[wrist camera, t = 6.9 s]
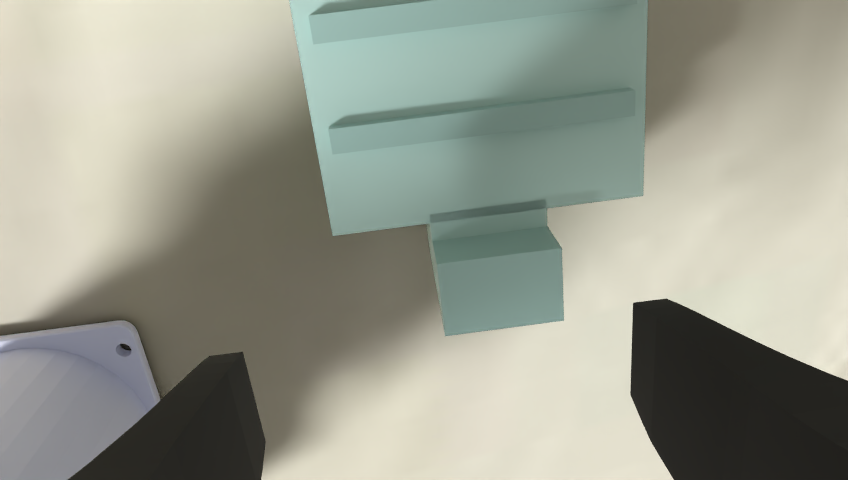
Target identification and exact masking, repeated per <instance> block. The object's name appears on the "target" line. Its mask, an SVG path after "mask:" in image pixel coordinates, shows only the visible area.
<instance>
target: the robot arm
mask: <svg viewBox="0 0 848 480" xmlns="http://www.w3.org/2000/svg"><path fill="white" fill-rule="evenodd" d="M120 344H126V345H128V346H129V347H130V348H131V350H125V349H123V348H122V347H121V346H120ZM631 397H632V399H633V401H634V404H635V406H636V409H637V411H638V413H639V416H640V418H641V420H642V423H643V425H644V427H645V429H646V431H647V434H648V436H649V438H650V440H651V442H652V444H653V446H654V447H655V449H656V451H657V452H658V454H659V456H660V457H661V459H662V461H663V462H664V464H665V466H666V467H667V469H668V471H669V472H670V474H671V476H672V477H673V479H674V480H848V381H847V380H844V379H842V378H839V377H836V376H834V375H831V374H829V373H826V372H824V371H821V370H819V369H817V368H814V367H812V366H810V365H807V364H805V363H803V362H800V361H798V360H796V359H793V358H791V357H789V356H786V355H784V354H782V353H780V352H778V351H775V350H773V349H771V348H769V347H767V346H765V345H762V344H760V343H758V342H756V341H754V340H752V339H750V338H748V337H746V336H744V335H742V334H740V333H738V332H735V331H733V330H731V329H729V328H727V327H725V326H723V325H721V324H719V323H717V322H715V321H713V320H711V319H709V318H707V317H705V316H703V315H701V314H699V313H697V312H695V311H693V310H691V309H689V308H687V307H685V306H682V305H680V304H678V303H676V302H673V301H671V300H668V299H660V300H652V301H644V302H636V303H633V328H632V362H631ZM264 450H265V438H264V434H263V430H262V426H261V422H260V418H259V414H258V410H257V406H256V402H255V398H254V394H253V391H252V387H251V383H250V379H249V375H248V371H247V367H246V363H245V359H244V355H243V352H238V353H230V354H223V355H215V356H209V357H208V358H206V359H205V360H204V361H203V362H202V363H200V364H199V365H198V366H197V367H196V368H195V369H194V370H193V371H191V372H190V373H189V374H188V375H187V376H186V377H185V378H184V379H183V380H182V381H181V382H180V383H179V384H178V385H176V386H175V387H174V388H173V389H172V390H171V391H170V392H169V393H168V394H167V395H166V396H165V397H164V398H163V399H162V400H161V399H160V396H159V393H158V391H157V388H156V385H155V382H154V379H153V376H152V373H151V370H150V367H149V364H148V361H147V358H146V355H145V352H144V349H143V346H142V343H141V340H140V337H139V334H138V331H137V330H136V328H135V326H134V325H132V324H131V323H130V322H127V321H121V320H118V321H111V322H103V323H95V324H88V325H80V326H72V327H65V328H57V329H49V330H42V331H34V332H27V333H19V334H11V335H4V336H0V480H261V476H262V469H263V459H264Z"/></svg>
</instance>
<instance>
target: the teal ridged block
mask: <svg viewBox="0 0 848 480" xmlns="http://www.w3.org/2000/svg"><path fill="white" fill-rule="evenodd" d="M289 2H290V8H291V13H292V19H293V24H294V29H295V35H296V40H297V46H298V51H299V57H300V62H301V67H302V73H303V78H304V84H305V89H306V94H307V100H308V105H309V111H310V116H311V121H312V127H313V132H314V138H315V143H316V148H317V154H318V159H319V165H320V170H321V176H322V181H323V186H324V192H325V197H326V203H327V208H328V213H329V219H330V224H331V230H332V235H333V236H337V235H345V234H353V233H360V232H368V231H376V230H383V229H391V228H399V227H407V226H414V225H422V224H426V225H427V233H428V241H429V249H430V255H431V260H432V266H433V271H434V277H435V282H436V288H437V293H438V299H439V304H440V310H441V316H442V321H443V327H444V332H445V336H450V335H458V334H465V333H473V332H480V331H488V330H496V329H503V328H511V327H518V326H526V325H533V324H541V323H548V322H556V321H564V308H563V275H562V248H561V246H560V245H559V243H558V242H557V240H556V239H555V237H554V236H553V234H552V233H551V231H550V230H549V228H548V227H547V208H553V207H561V206H569V205H576V204H584V203H592V202H600V201H607V200H615V199H623V198H630V197H638V196H643V183H644V143H645V102H646V61H647V20H648V0H289Z"/></svg>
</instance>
